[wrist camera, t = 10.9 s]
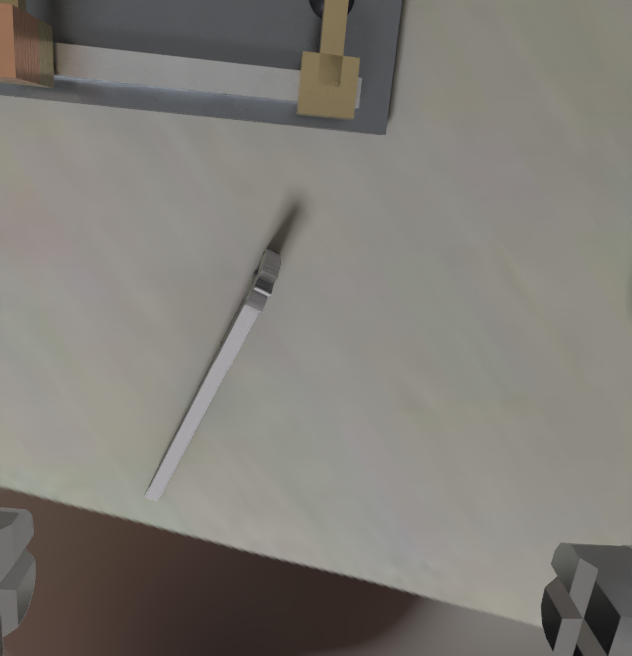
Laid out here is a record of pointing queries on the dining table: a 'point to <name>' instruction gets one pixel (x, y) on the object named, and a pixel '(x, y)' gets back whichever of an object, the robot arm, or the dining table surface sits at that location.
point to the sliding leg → (24, 47)
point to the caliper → (218, 368)
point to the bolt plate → (226, 58)
